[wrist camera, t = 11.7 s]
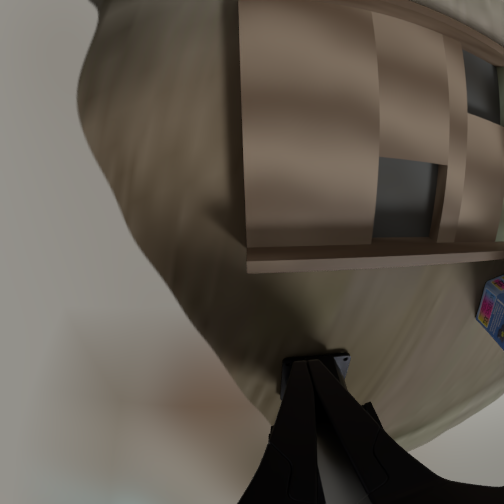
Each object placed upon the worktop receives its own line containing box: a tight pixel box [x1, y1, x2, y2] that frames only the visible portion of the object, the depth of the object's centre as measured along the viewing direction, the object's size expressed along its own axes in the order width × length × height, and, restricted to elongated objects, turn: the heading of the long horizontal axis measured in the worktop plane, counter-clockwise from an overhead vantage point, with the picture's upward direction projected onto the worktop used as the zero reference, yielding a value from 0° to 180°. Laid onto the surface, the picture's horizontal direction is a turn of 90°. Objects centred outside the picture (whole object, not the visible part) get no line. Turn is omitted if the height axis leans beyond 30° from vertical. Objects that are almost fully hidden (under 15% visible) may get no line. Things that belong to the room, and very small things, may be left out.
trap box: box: [238, 0, 504, 274], centre depth 14 cm, size 18×29×4 cm, turn 92°
